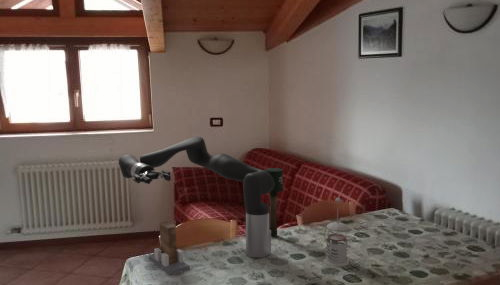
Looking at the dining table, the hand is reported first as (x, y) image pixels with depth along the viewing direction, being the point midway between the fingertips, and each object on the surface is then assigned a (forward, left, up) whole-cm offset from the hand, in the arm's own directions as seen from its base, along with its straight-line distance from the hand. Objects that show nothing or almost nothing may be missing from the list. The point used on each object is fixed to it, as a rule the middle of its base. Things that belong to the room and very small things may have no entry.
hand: (159, 179), depth 179 cm
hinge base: (+3, +12, -30) cm, 32 cm away
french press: (-50, +47, -30) cm, 75 cm away
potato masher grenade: (-48, +12, -30) cm, 58 cm away
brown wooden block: (+3, +12, -28) cm, 31 cm away
